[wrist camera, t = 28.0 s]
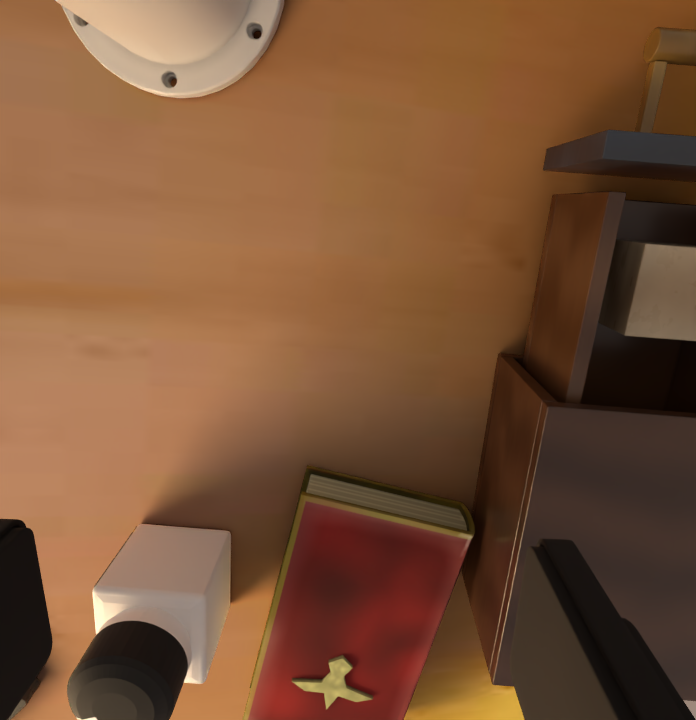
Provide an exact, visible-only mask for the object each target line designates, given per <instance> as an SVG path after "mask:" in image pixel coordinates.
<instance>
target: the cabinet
mask: <svg viewBox="0 0 696 720" xmlns="http://www.w3.org/2000/svg"><path fill="white" fill-rule="evenodd" d="M523 358H524V355H514V354H501V353H499V354H498V358H497V364H496V371H495V377H494V383H493V389H492V395H491V401H490V407H489V413H488V419H487V425H486V431H485V438H484V444H483V450H482V456H481V462H480V468H479V474H478V480H477V486H476V492H475V499H474V505H473V511H472V519H473V522H474V527H475V533H474V536H473V539H472V541H471V544H470V547H469V549H468V552H467V554H466V557H465V560H464V566H463V572H462V575H463V578H464V583H465V586H466V590H467V594H468V597H469V601H470V605H471V608H472V612H473V615H474V619H475V623H476V626H477V630H478V634H479V637H480V641H481V645H482V648H483V652H484V656H485V659H486V663H487V667H488V670H489V673H490V677H491V681H492V684H493V685H502V686H514V684H513V681H512V677H511V671H510V654H511V648H512V641H513V635H514V628H515V622H516V616H517V609H518V603H519V596H520V590H521V583H522V577H523V571H524V564H525V558H526V552H527V549H528V547H530V546H536V543H537V541H538V540H539V539H568V540H572V541H573V542H574V543H575V545H576V546H577V548H578V549H579V551H580V553H581V554H582V556H583V557H584V559H585V561H586V562H587V564H588V565H589V567H590V569H591V570H592V572H593V573H594V575H595V577H596V578H597V580H598V581H599V583H600V584H601V586H602V588H603V589H604V591H605V592H606V594H607V596H608V597H609V599H610V600H611V602H612V604H613V605H614V607H615V608H616V610H617V612H618V613H619V615H620V616H621V618H626V619H627V620H629V621H630V622H631V623H632V624H633V625H634V626H635V627H636V629H637V630H638V632H639V633H640V635H641V636H642V638H643V639H644V641H645V642H646V644H647V645H648V647H649V649H650V650H651V652H652V653H653V655H654V656H655V658H656V659H657V661H658V662H659V664H660V665H661V667H662V669H663V670H664V672H665V673H666V675H667V676H668V678H669V679H670V681H671V682H672V684H673V686H674V687H675V689H676V690H677V692H678V693H679V695H680V696H681V698H682V699H683V700H688V701H696V413H689V412H676V411H663V410H651V409H638V408H625V407H612V406H600V405H587V404H574V403H561V402H557V401H556V400H555V399H554V398H553V397H552V396H551V395H550V394H549V393H548V392H547V391H546V390H545V389H544V388H543V387H542V386H541V385H540V384H539V383H538V382H537V381H536V380H535V379H534V378H533V377H532V376H531V375H530V374H529V373H528V372H527V371H526V370H525V369H524V368H523V367H522V363H523Z"/></svg>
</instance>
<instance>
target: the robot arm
mask: <svg viewBox="0 0 696 720" xmlns="http://www.w3.org/2000/svg"><path fill="white" fill-rule="evenodd" d="M55 1H56V2H58V3H59V4H61V5H62V8H63V10H64V12H65V14H66V16H67V18H68V20H69V22H70V24H71V26H72V28H73V30H74V31H75V33H76V34H77V36H78V37H79V38H80V40H81V41H82V42H83V44H84V45H85V47H86V48H87V49H88V51H89V52H90V53H91V54H92V55H93V56H94V57H95V58H96V59H97V60H98V61H99V62H100V63H101V64H102V65H103V66H104V67H105V68H107V69H108V70H109V71H111V72H112V73H114V74H115V75H117V76H118V77H119V78H121V79H122V80H124V81H126V82H127V83H129V84H131V85H133V86H135V87H137V88H139V89H141V90H144V91H147V92H150V93H153V94H156V95H159V96H165V97H173V98H192V97H202V96H205V95H208V94H211V93H215V92H218V91H220V90H222V89H224V88H226V87H228V86H229V85H231V84H233V83H235V82H236V81H238V80H239V79H240V78H241V77H243V76H244V75H245V74H246V73H247V72H248V71H249V70H251V69H252V68H253V67H254V66H255V64H256V63H257V62H258V60H259V59H260V58H261V56H262V55H263V54H264V52H265V51H266V50H267V48H268V46H269V44H270V42H271V40H272V38H273V36H274V34H275V32H276V30H277V28H278V24H279V21H280V17H281V14H282V10H283V7H284V0H55ZM86 22H88V24H86ZM255 31H260V32H261V37H260V38H259V39H255V38H254V37H253V35H254V32H255ZM174 78H176V79H177V84H176V85H175V86H174V87H172V86H171V80H172V79H174ZM51 649H52V634H51V629H50V623H49V618H48V612H47V606H46V601H45V595H44V590H43V584H42V579H41V573H40V567H39V562H38V556H37V551H36V545H35V539H34V534H33V531H32V530H31V529H29V528H26V526H25V524H24V522H23V521H21V520H17V519H0V720H8V718H9V717H10V715H11V714H12V712H13V711H14V710H15V708H16V707H17V705H18V704H19V702H20V701H21V699H22V698H23V696H24V695H25V693H26V692H27V690H28V689H29V687H30V686H31V684H32V683H33V681H34V680H35V678H36V677H37V675H38V674H39V672H40V671H41V669H42V668H43V666H44V665H45V664H46V662H47V660H48V658H49V656H50V653H51ZM510 671H511V677H512V681H513V684H514V687H515V690H516V694H517V697H518V700H519V703H520V706H521V709H522V712H523V715H524V719H525V720H695V718H694V716H693V715H692V713H691V712H690V710H689V709H688V707H687V706H686V704H685V703H684V701H683V699H682V698H681V696H680V695H679V693H678V692H677V690H676V689H675V687H674V686H673V684H672V682H671V681H670V679H669V678H668V676H667V675H666V673H665V672H664V670H663V669H662V667H661V665H660V664H659V662H658V661H657V659H656V658H655V656H654V655H653V653H652V652H651V650H650V649H649V647H648V645H647V644H646V642H645V641H644V639H643V638H642V636H641V635H640V633H639V632H638V630H637V629H636V627H635V626H634V625H633V624H632V623H631V622H630V621H629V620H627V619H626V618H621V616H620V615H619V613H618V612H617V610H616V608H615V607H614V605H613V604H612V602H611V600H610V599H609V597H608V596H607V594H606V592H605V591H604V589H603V588H602V586H601V584H600V583H599V581H598V580H597V578H596V577H595V575H594V573H593V572H592V570H591V569H590V567H589V565H588V564H587V562H586V561H585V559H584V557H583V556H582V554H581V553H580V551H579V549H578V548H577V546H576V545H575V543H574V542H573V541H572V540H568V539H539V540H538V541H537V543H536V546H530V547H528V549H527V552H526V558H525V564H524V571H523V577H522V583H521V590H520V596H519V603H518V609H517V616H516V622H515V628H514V635H513V641H512V648H511V654H510Z"/></svg>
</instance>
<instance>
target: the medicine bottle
mask: <svg viewBox="0 0 696 720" xmlns="http://www.w3.org/2000/svg"><path fill="white" fill-rule="evenodd" d="M230 580H231V533H230V532H229V531H225V530H213V529H200V528H188V527H175V526H163V525H150V524H139V525H138V526H136V528H135V529H134V531H133V532H132V534H131V535H130V536H129V538H128V539H127V541H126V542H125V544H124V545H123V546H122V548H121V549H120V551H119V552H118V553H117V555H116V556H115V558H114V559H113V561H112V562H111V563H110V565H109V566H108V568H107V569H106V571H105V572H104V573H103V575H102V576H101V578H100V579H99V581H98V582H97V583H96V585H95V586H94V588H93V602H94V615H95V627H96V636H95V637H94V639H93V641H92V642H91V644H90V646H89V647H88V649H87V650H86V652H85V654H84V655H83V657H82V659H81V660H80V662H79V663H78V665H77V667H76V668H75V670H74V671H73V673H72V675H71V677H70V679H69V682H68V685H67V695H68V700H69V704H70V707H71V710H72V712H73V713H74V715H75V716H76V718H77V719H78V720H169V719H170V717H171V715H172V712H173V710H174V707H175V704H176V702H177V699H178V696H179V693H180V691H181V688H182V685H183V683H184V682H185V683H197V684H201V683H204V682H205V681H206V678H207V675H208V672H209V669H210V666H211V663H212V660H213V657H214V654H215V651H216V648H217V645H218V642H219V639H220V636H221V633H222V630H223V627H224V624H225V621H226V617H227V614H228V611H229V608H230Z"/></svg>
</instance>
